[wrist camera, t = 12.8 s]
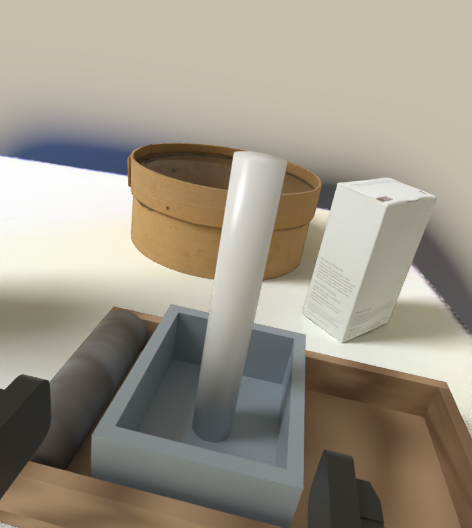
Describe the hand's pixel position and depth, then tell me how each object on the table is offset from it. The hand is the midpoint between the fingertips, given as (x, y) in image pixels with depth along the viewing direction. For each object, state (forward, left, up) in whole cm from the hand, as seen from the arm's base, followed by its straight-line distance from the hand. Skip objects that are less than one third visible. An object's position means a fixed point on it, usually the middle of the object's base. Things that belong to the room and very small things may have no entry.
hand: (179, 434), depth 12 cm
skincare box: (-19, +27, -13) cm, 36 cm away
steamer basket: (-41, +22, -13) cm, 48 cm away
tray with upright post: (-9, +6, -12) cm, 16 cm away
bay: (-7, +9, -13) cm, 17 cm away
